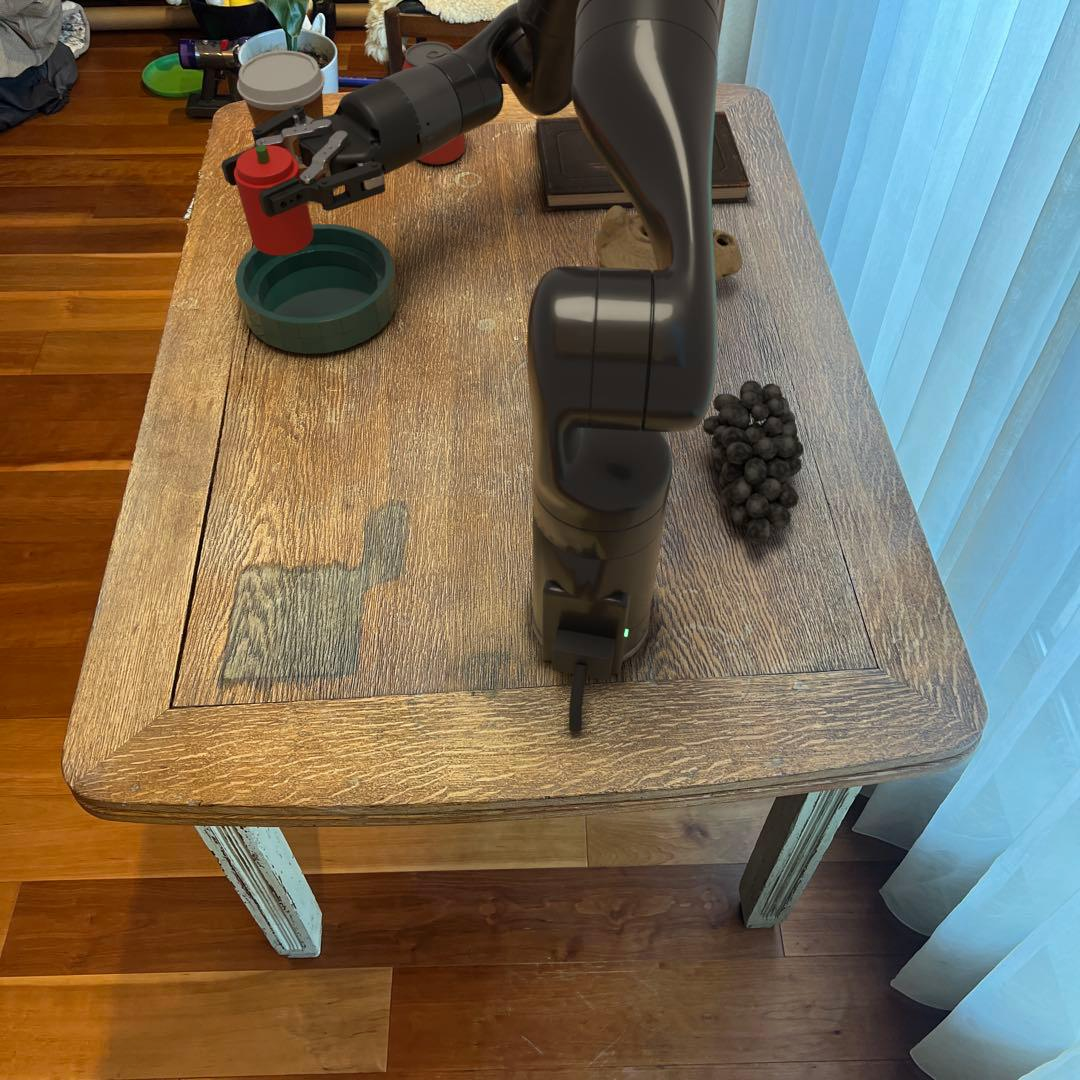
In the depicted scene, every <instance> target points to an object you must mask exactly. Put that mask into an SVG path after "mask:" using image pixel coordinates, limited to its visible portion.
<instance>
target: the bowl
mask: <svg viewBox="0 0 1080 1080" xmlns="http://www.w3.org/2000/svg"><path fill="white" fill-rule="evenodd" d="M312 227H313V231H314V235H313V238H312V240H311V242H310V243H309V244H308V245H307V246H306V247H305V248H303V249H301V250H300V251H297V252H295V253H291V254H287V255H270V254H266V253H263V252H261V251H259V250H258V249H257V248H256V247H255V246H254V245H253V247H252V248H251V249H249V251H247V252H246V253H245V254H244V256H243V258H242V259H241V260H240V262H239V264H238V265H237V267H236V273H235V278H234V283H235V288H236V292H237V295H238V299H239V302H240V307H241V310H242V313H243V317H244V320H245V323H246V325H247V326H248V328H249V329H250V330H251V332H252V333H253V334H254V336H256V337H257V338H258V339H260V340H261V341H263V342H264V343H265V344H267V345H269V346H271V347H274V348H277V349H280V350H282V351H285V352H290V353H291V352H292V353H298V354H305V355H308V354H309V355H311V354H312V355H313V354H329V353H333V352H337V351H343V350H347V349H350V348H352V347H354V346H356V345H359V344H362V343H363V342H366V341H367V340H369V339H370V338H372V337H373V336H375V335H376V334H378V333H380V331H382V329H384V327H385V326H386V325H387V324H389V322H390V321H391V319H392V318H393V316H394V314H395V311H396V309H397V307H398V298H399V297H398V295H399V293H398V286H397V285H398V284H397V276H396V269H395V264H394V260H393V258H392V255H391V251H390V250H389V248H387V246H386V245H385V244H384V243H383V242H382V241H381V240H380V239H379V238H377V237H375V236H374V235H373V234H370V233H369V232H367V231H365V230H362V229H358V228H357V227H356V228H355V227H353V226H350V225H344V224H336V223H316V224H314V223H312Z"/></svg>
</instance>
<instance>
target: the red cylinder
mask: <svg viewBox="0 0 1080 1080" xmlns="http://www.w3.org/2000/svg"><path fill="white" fill-rule="evenodd" d="M251 148H252V147H251ZM249 149H250V148H249ZM300 175H301V173H300V169H299V164H298V162H297V160H296V159H295V158H294V157H293V156H292V155H291V154H290V152H289V151H288V150H286V149H284V148H282V147H278V146H265V145H259V146H257V147H255V148H252V149H250V150H248V151H246V152H244V153H243V154H242V155H241V156H240V157H239V158H238V160H237V163H236V167H235V170H234V177H235V180H236V184H237V185H236V188H237V191H238V194H239V198H240V202H241V205H242V209H243V213H244V215H245V220H246V223H247V227H248V230H249V233H250V237H251V241H252V244H253V247H254V246H255V247H256V248H257V249H258V250H259V251H261V252H263V253H266V254H270V255H287V254H291V253H295V252H297V251H300V250H301V249H303V248H305V247H306V246H307V245H308V244H309V243H310V242H311V240H312V238H313V235H314V231H313V227H312V224H313V223H312V218H311V215H310V210H309V204H307V203H306V202H305V203H303V204H301V205H299V206H297V207H295V208H293V209H292V208H291V209H290V210H287V211H286V212H284V213H282V214H277V215H275V216H273V217H268V216H267V215H266V214H264V213H263V212H262V208H261V205H260V201H259V194H260V192H261V191H263V190H265V189H268V188H270V187H272V186H274V185H276V184H279V183H281V182H283V181H285V180H287V179H290V178H292V177H294V176H295V177H296V178H297V179H299V180H300Z"/></svg>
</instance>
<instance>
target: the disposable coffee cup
mask: <svg viewBox="0 0 1080 1080" xmlns="http://www.w3.org/2000/svg"><path fill="white" fill-rule="evenodd" d="M238 70H239V71H238V79H237V83H236V89H237V91H238V93H239V95H240V96H241V97H242V99H243V100H244V102H245V103H246V106H247V109H248V112H249V114H250V117H251V119H252V122H253V125H254V128H255V127H257V126H259V125H261V124H263V123H264V122H266V121H268V120H270V119H271V118H273V117H275V116H277V115H278V114H280V113H282V112H284V111H285V110H287V109H289V108H291V107H292V106H294V105H302V106H303V107H304V111H305V115H306V116H308V117H310V118H312V119H315V118H317V117H323V116H324V100H323V99H324V97H323V91H324V86H325V82H326V77H325V73H324V71H323V70H322V69H321V68H320V66H319V64H318V62H317V61H316V59H314V58H313V57H312V56H311V55H308V54H306V53H304V52H301V51H294V50H274V51H268V52H265V53H260V54H257V55H255V56H253V57H251V58H250V59H247V60H246V61H245V62H244V63H243V64H242V65H241V66H240V69H238ZM270 136H274V135H273V133H271V134H269V135H267V137H270ZM298 142H299V141H298V140H297V141H295V142H293V148H294V152H295V155H296V156H301V155H300V151H299V146H298ZM284 149H285V148H284ZM306 169H307V168H303V169H300V173H301V174H302V173H303V172H304V171H305V170H306Z"/></svg>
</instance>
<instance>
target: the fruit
mask: <svg viewBox="0 0 1080 1080" xmlns="http://www.w3.org/2000/svg"><path fill="white" fill-rule="evenodd" d="M713 408H714V410H715V411H716V412H718V414H717V415H711V416H709V417H707V418H704V419H703V424H702V430H703V431H704V433H705V434H706V435H709V436H712V437H711V441H710V442H711V443H710V444H711V447H712V449H713V452H712V460H713V462H714V463H715V469H716V470H717V471H718V472H719V479H718V482H719V484H720V485H721V487H723V488H724V489H723V490H722V491H721V493H720V494H719V496H720V501H721V503H722V505H724V507H726V508H729V509H730V508H731V509H732V510H731V512H730V517H731V519H732V521H733V523H734V524H736V525H739V526H741V527H742V526H744V527H746V528H747V531H746V537H747V538H748V541H749V542H750V543H752V544H755V545H761V544H765V543H766V542H767V541H768V539H769V538H770V536H771V534H772V532H773V528H775V529H778V530H782V529H784V528H786V527H787V526H788V525H789V524H790V522H791V519H792V517H791V516H792V514H791V511H790V510H789V509H792V508H795V507H797V504H798V503H799V499H800V496H799V494H798V492H797V490H796V489H795V488H794V487H793V486H792V479H791V477H793V476H795V475H797V474H799V472H801V470H802V467H803V465H802V460H801V459H800V457H801V456H802V455H803V454H804V449H805V448H804V445H803V443H802V442H801V441H800V438H799V436H798V427H797V423H796V415H795V414H794V411H793V412H792V411H791V410H790V402H789V401H788V399H787V398H786V397H784V396H783V392H782V390H781V387H780V386H779V385H777V384H775V383H774V382H772V383H767V384H765V385H764V386H762V385H761V384H760V383H759V382H758V381H756V380H747V381H745V382H743V383H742V384H741V386H740V390H739V397H737V396H736V395H734V394H732V393H718V394H717V395H716V396H715V398H714V399H713ZM751 418H752V419H751ZM751 422H752V423H751ZM759 422H761V423H759ZM772 527H773V528H772Z"/></svg>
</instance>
